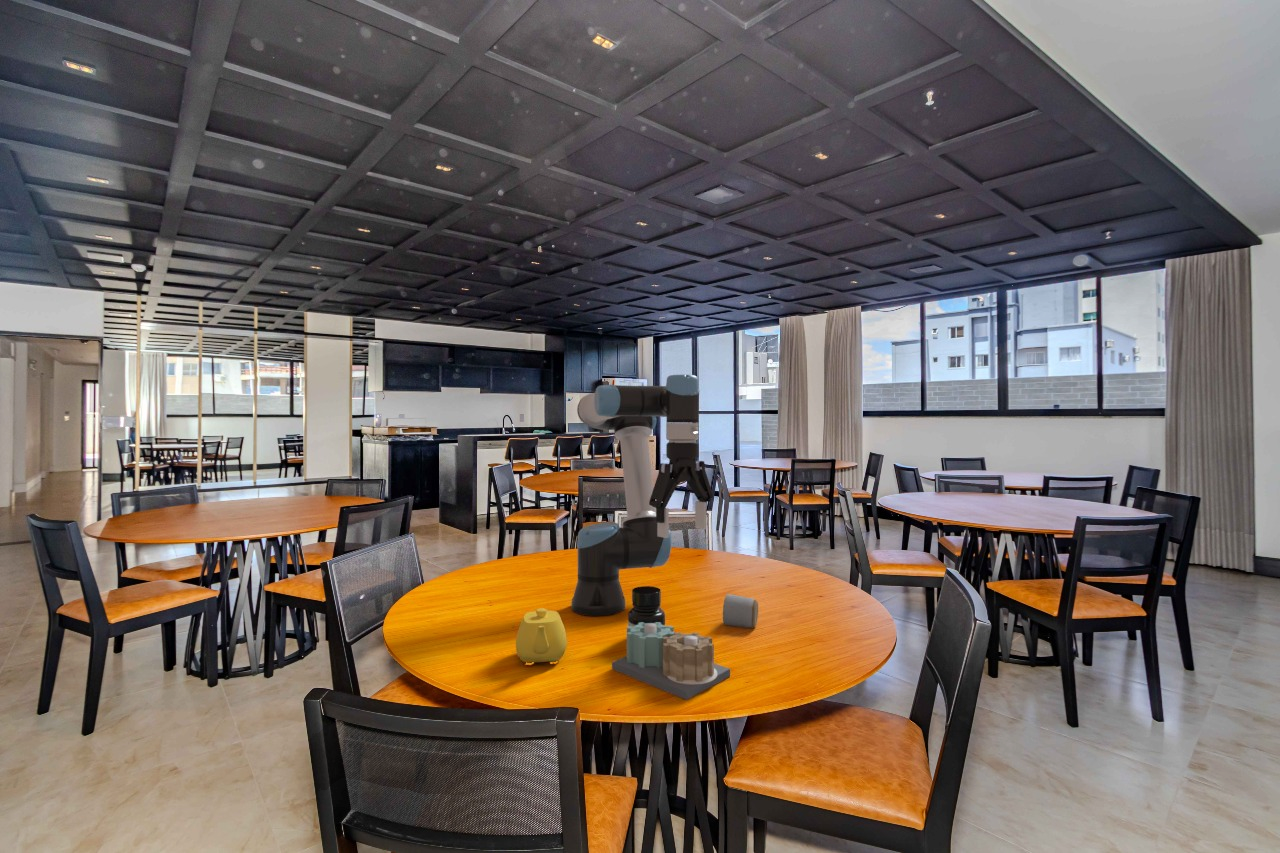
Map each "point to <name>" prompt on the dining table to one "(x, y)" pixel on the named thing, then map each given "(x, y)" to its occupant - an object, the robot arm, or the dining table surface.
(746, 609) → the ceramic mug
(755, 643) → the dining table surface
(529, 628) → the teapot
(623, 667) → the gear board
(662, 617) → the ink bottle
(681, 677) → the birch gear
